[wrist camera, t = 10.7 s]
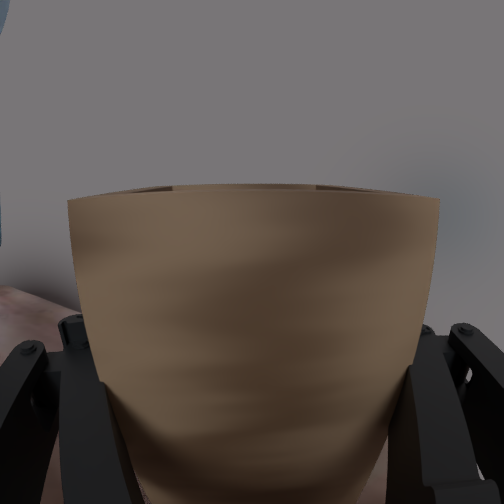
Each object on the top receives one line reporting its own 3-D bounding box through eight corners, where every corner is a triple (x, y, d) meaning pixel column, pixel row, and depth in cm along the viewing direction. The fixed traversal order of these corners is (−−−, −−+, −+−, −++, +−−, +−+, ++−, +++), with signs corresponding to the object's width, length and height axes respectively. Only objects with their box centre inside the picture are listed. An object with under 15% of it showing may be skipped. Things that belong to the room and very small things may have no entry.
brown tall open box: (159, 517, 8) (67, 200, 5) (177, 402, 16) (154, 186, 13) (354, 504, 9) (439, 198, 6) (313, 396, 16) (330, 185, 14)
